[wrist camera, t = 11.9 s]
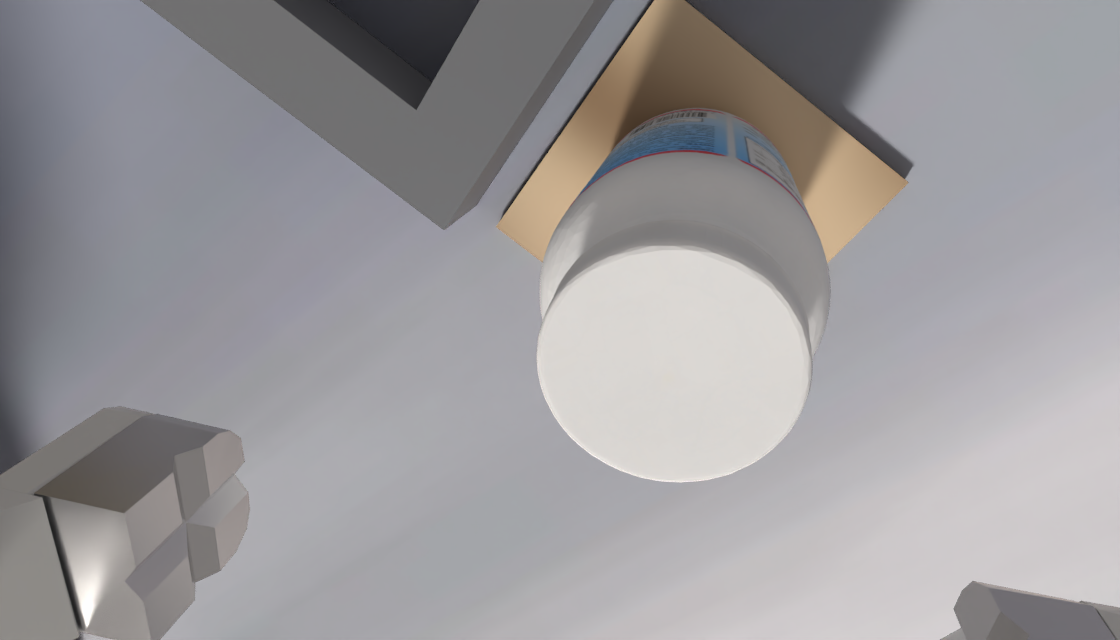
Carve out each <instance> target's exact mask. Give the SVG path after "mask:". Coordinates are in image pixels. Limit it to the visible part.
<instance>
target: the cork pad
mask: <svg viewBox="0 0 1120 640" xmlns="http://www.w3.org/2000/svg"><path fill="white" fill-rule="evenodd" d="M686 108H708V109H715V110H719V111H723V112H727V113H730V114H733V115H735V116H737V117H740V118H742V119H744V120H745V121H747V122H749V123H750V124H752V125H753V126H755V127H756V128H758V129H759V130H760V131H761V132H762V133H764V134H765V135H766V136H767V137H768V138H769V139H770V141H771V142H772V143H773V144H774V145H775V147H776V148H777V149H778V151H779V152H780V154H781V155H782V157H783V159H784V160H785V162H786V164H787V166H788V169H789V171H790V172H791V175H792V177H793V180H794V182H795V184H796V187H797V189H798V191H799V193H800V195H801V197H802V200H803V202H804V205H805V207H806V209H807V211H808V214H809V216H810V218H811V220H812V222H813V224H814V226H815V229H816V231H817V233H818V235H819V238H820V240H821V243H822V246H823V249H824V253H825V256H826V260H827V263H828V262H829V261H830V260H831V259H832V258H833V257H834V256H835V255H836V254H837V253H838V252H839V251H840V250H841V249H842V248H843V247H844V246H845V245H846V244H847V243H848V242H849V241H850V240H851V239H852V238H853V237H854V236H855V235H856V234H857V233H858V232H859V231H860V230H861V229H862V228H863V227H864V226H865V225H866V224H867V223H868V222H869V221H870V220H871V219H872V218H873V217H874V216H875V215H876V214H877V213H878V212H879V211H880V210H881V209H882V208H883V207H885V206H886V205H887V204H888V203H889V202H890V201H891V200H892V199H893V198H894V197H895V196H896V195H897V194H898V193H899V192H900V191H901V190H902V189H903V188H904V187H905V186H906V185H907V184H908V182H907V181H906V180H905V179H904V178H903V177H901V176H900V175H899V174H898V173H896V172H895V171H894V170H893V169H892V168H890V167H889V166H888V165H887V164H885V163H884V162H883V161H882V160H881V159H879V158H878V157H877V156H876V155H874V154H873V153H872V152H871V151H869V150H868V149H867V148H866V147H865V146H863V145H862V144H861V143H860V142H858V141H857V140H856V139H855V138H853V137H852V136H851V135H850V134H849V133H847V132H846V131H845V130H844V129H842V128H841V127H840V126H839V125H838V124H836V123H835V122H834V121H833V120H831V119H830V118H829V117H828V116H826V115H825V114H824V113H823V112H822V111H820V110H819V109H818V108H817V107H815V106H814V105H813V104H812V103H810V102H809V101H808V100H807V99H806V98H804V97H803V96H802V95H801V94H799V93H798V92H797V91H796V90H795V89H793V88H792V87H791V86H790V85H788V84H787V83H786V82H785V81H783V80H782V79H781V78H780V77H779V76H777V75H776V74H775V73H774V72H772V71H771V70H770V69H769V68H767V67H766V66H765V65H764V64H763V63H761V62H760V61H759V60H758V59H756V58H755V57H754V56H753V55H752V54H750V53H749V52H748V51H747V50H745V49H744V48H743V47H742V46H740V45H739V44H738V43H737V42H736V41H734V40H733V39H732V38H731V37H729V36H728V35H727V34H726V33H724V32H723V31H722V30H721V29H720V28H718V27H717V26H716V25H715V24H713V23H712V22H711V21H710V20H708V19H707V18H706V17H705V16H704V15H702V14H701V13H700V12H699V11H697V10H696V9H695V8H694V7H693V6H691V5H690V4H689V3H688V2H686V1H685V0H654V1H653V3H652V4H651V6H650V7H649V8H648V10H647V11H646V13H645V14H644V16H643V17H642V18H641V20H640V21H639V23H638V24H637V26H636V27H635V28H634V30H633V31H632V33H631V34H630V36H629V37H628V38H627V40H626V41H625V43H624V44H623V46H622V47H621V48H620V50H619V51H618V53H617V54H616V56H615V57H614V59H613V60H612V61H611V63H610V64H609V66H608V67H607V69H606V70H605V71H604V73H603V74H602V76H601V77H600V79H599V80H598V81H597V83H596V84H595V86H594V87H593V89H592V90H591V91H590V93H589V94H588V96H587V97H586V99H585V100H584V102H583V103H582V104H581V106H580V107H579V109H578V110H577V112H576V113H575V114H574V116H573V117H572V119H571V120H570V122H569V123H568V124H567V126H566V127H565V129H564V130H563V132H562V133H561V134H560V136H559V137H558V139H557V140H556V142H555V143H554V144H553V146H552V147H551V149H550V150H549V152H548V153H547V155H546V156H545V157H544V159H543V160H542V162H541V163H540V165H539V166H538V167H537V169H536V170H535V172H534V173H533V175H532V176H531V177H530V179H529V180H528V182H527V183H526V185H525V186H524V187H523V189H522V190H521V192H520V193H519V195H518V196H517V198H516V199H515V200H514V202H513V203H512V205H511V206H510V208H509V209H508V210H507V212H506V213H505V215H504V216H503V218H502V219H501V220H500V222H499V223H498V225H497V226H496V227H497V228H498V229H499V230H501V231H502V232H503V233H505V234H506V235H507V236H509V237H510V238H511V239H512V240H514V241H515V242H516V243H518V244H519V245H520V246H522V247H523V248H524V249H526V250H527V251H528V252H530V253H531V254H532V255H533V256H535V257H536V258H537V259H539V260H540V261H541V262H543V259H544V256H545V253H546V250H547V247H548V244H549V242H550V239H551V237H552V235H553V232H554V231H555V229H556V227H557V225H558V224H559V222H560V220H561V219H562V217H563V216H564V214H565V213H566V211H567V210H568V208H569V207H570V205H571V204H572V203H573V202H574V200H575V199H576V198H577V196H578V195H579V194H580V192H581V191H582V190H583V188H584V187H585V186H586V185H587V183H588V182H589V181H590V179H591V178H592V177H593V175H594V174H595V173H596V171H597V170H598V169H599V167H600V166H601V165H602V163H603V162H604V161H605V159H606V158H607V157H608V155H609V154H610V153H611V151H612V150H613V149H614V147H615V146H616V145H617V144H618V143H619V142H620V141H621V140H622V139H623V138H624V137H625V136H626V135H627V134H628V133H629V132H631V131H632V130H633V129H635V128H636V127H637V126H639V125H640V124H642V123H644V122H645V121H647V120H649V119H651V118H653V117H655V116H658V115H660V114H663V113H666V112H670V111H674V110H679V109H686Z"/></svg>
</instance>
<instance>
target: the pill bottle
mask: <svg viewBox="0 0 1120 640" xmlns="http://www.w3.org/2000/svg"><path fill="white" fill-rule="evenodd" d="M830 293H831V289H830V276H829V269H828V264H827V260H826V256H825V253H824V249H823V246H822V243H821V240H820V238H819V235H818V233H817V231H816V229H815V226H814V224H813V222H812V220H811V218H810V216H809V214H808V211H807V209H806V207H805V205H804V202H803V200H802V197H801V195H800V193H799V191H798V189H797V187H796V184H795V182H794V180H793V177H792V175H791V172H790V171H789V169H788V166H787V164H786V162H785V160H784V159H783V157H782V155H781V154H780V152H779V151H778V149H777V148H776V147H775V145H774V144H773V143H772V142H771V141H770V139H769V138H768V137H767V136H766V135H765V134H764V133H762V132H761V131H760V130H759V129H758V128H756V127H755V126H753V125H752V124H750V123H749V122H747V121H745V120H744V119H742V118H740V117H737V116H735V115H733V114H730V113H727V112H723V111H719V110H715V109H708V108H686V109H679V110H674V111H670V112H666V113H663V114H660V115H658V116H655V117H653V118H651V119H649V120H647V121H645V122H644V123H642V124H640V125H639V126H637V127H636V128H635V129H633V130H632V131H631V132H629V133H628V134H627V135H626V136H625V137H624V138H623V139H622V140H621V141H620V142H619V143H618V144H617V145H616V146H615V147H614V149H613V150H612V151H611V153H610V154H609V155H608V157H607V158H606V159H605V161H604V162H603V163H602V165H601V166H600V167H599V169H598V170H597V171H596V173H595V174H594V175H593V177H592V178H591V179H590V181H589V182H588V183H587V185H586V186H585V187H584V188H583V190H582V191H581V192H580V194H579V195H578V196H577V198H576V199H575V200H574V202H573V203H572V204H571V205H570V207H569V208H568V210H567V211H566V213H565V214H564V216H563V217H562V219H561V220H560V222H559V224H558V225H557V227H556V229H555V231H554V232H553V235H552V237H551V239H550V242H549V244H548V247H547V250H546V253H545V256H544V259H543V263H542V268H541V275H540V309H541V316H542V320H543V321H542V325H541V329H540V332H539V336H538V344H537V369H538V375H539V380H540V385H541V388H542V391H543V394H544V397H545V399H546V401H547V403H548V405H549V407H550V409H551V411H552V413H553V415H554V416H555V418H556V419H557V421H558V422H559V424H560V425H561V427H562V428H563V429H564V430H565V431H566V433H567V434H568V435H569V436H570V437H571V438H572V439H573V440H574V441H575V442H576V443H577V444H578V445H579V446H581V447H582V448H583V449H584V450H586V451H587V452H588V453H589V454H591V455H592V456H594V457H596V458H597V459H599V460H601V461H602V462H604V463H606V464H607V465H610V466H612V467H614V468H616V469H618V470H620V471H623V472H626V473H629V474H632V475H635V476H637V477H642V478H646V479H651V480H657V481H665V482H693V481H702V480H709V479H713V478H717V477H721V476H725V475H728V474H732V473H734V472H736V471H738V470H740V469H742V468H745V467H747V466H749V465H751V464H752V463H754V462H756V461H758V460H759V459H760V458H762V457H763V456H764V455H766V454H767V453H768V452H770V451H771V450H772V449H773V448H775V447H776V446H777V445H778V444H779V443H780V442H781V441H782V440H783V438H784V437H785V436H786V435H787V434H788V433H789V432H790V430H791V429H792V427H793V426H794V424H795V423H796V421H797V420H798V418H799V416H800V414H801V412H802V410H803V408H804V405H805V402H806V399H807V397H808V394H809V391H810V386H811V380H812V367H813V361H812V358H813V356H814V354H815V352H816V350H817V348H818V346H819V344H820V341H821V339H822V336H823V333H824V331H825V327H826V323H827V319H828V314H829V307H830Z"/></svg>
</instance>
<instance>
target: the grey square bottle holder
mask: <svg viewBox="0 0 1120 640" xmlns="http://www.w3.org/2000/svg"><path fill="white" fill-rule="evenodd" d="M140 1H142V2H143V3H144V4H146V5H147V6H148V7H150V8H151V9H152V10H154V11H155V12H156V13H158V14H159V15H160V16H162V17H163V18H164V19H166V20H167V21H168V22H170V23H171V24H172V25H173V26H175V27H176V28H177V29H179V30H180V31H181V32H183V33H184V34H185V35H187V36H188V37H189V38H191V39H192V40H193V41H195V42H196V43H197V44H199V45H200V46H201V47H203V48H204V49H205V50H207V51H208V52H209V53H210V54H212V55H213V56H214V57H216V58H217V59H218V60H220V61H221V62H222V63H224V64H225V65H226V66H228V67H229V68H230V69H232V70H233V71H234V72H236V73H237V74H238V75H240V76H241V77H242V78H244V79H245V80H246V81H247V82H249V83H250V84H251V85H253V86H254V87H255V88H257V89H258V90H259V91H261V92H262V93H263V94H265V95H266V96H267V97H269V98H270V99H271V100H273V101H274V102H275V103H277V104H278V105H279V106H281V107H282V108H283V109H284V110H286V111H287V112H288V113H290V114H291V115H292V116H294V117H295V118H296V119H298V120H299V121H300V122H302V123H303V124H304V125H306V126H307V127H308V128H310V129H311V130H312V131H314V132H315V133H316V134H318V135H319V136H320V137H321V138H323V139H324V140H325V141H327V142H328V143H329V144H331V145H332V146H333V147H335V148H336V149H337V150H339V151H340V152H341V153H343V154H344V155H345V156H347V157H348V158H349V159H351V160H352V161H353V162H355V163H356V164H357V165H358V166H360V167H361V168H362V169H364V170H365V171H366V172H368V173H369V174H370V175H372V176H373V177H374V178H376V179H377V180H378V181H380V182H381V183H382V184H384V185H385V186H386V187H388V188H389V189H390V190H392V191H393V192H394V193H395V194H397V195H398V196H399V197H401V198H402V199H403V200H405V201H406V202H407V203H409V204H410V205H411V206H413V207H414V208H415V209H417V210H418V211H419V212H421V213H422V214H423V215H425V216H426V217H427V218H429V219H430V220H431V221H432V222H434V223H435V224H436V225H438V226H439V227H440V228H442V229H443V230H445V229H446V228H448V227H449V226H450V225H452V224H453V223H454V222H455V221H457V220H458V219H459V218H461V217H462V216H463V215H465V214H466V213H467V212H469V211H470V210H471V209H472V208H474V207H475V206H476V205H477V204H478V202H479V201H480V199H481V198H482V196H483V195H484V193H485V192H486V190H487V189H488V187H489V186H490V184H491V183H492V181H493V180H494V178H495V177H496V175H497V174H498V172H499V171H500V169H501V168H502V166H503V165H504V163H505V162H506V160H507V159H508V157H509V156H510V154H511V153H512V151H513V150H514V148H515V147H516V145H517V144H518V142H519V141H520V139H521V138H522V136H523V135H524V133H525V132H526V130H527V129H528V127H529V126H530V124H531V123H532V121H533V120H534V118H535V117H536V115H537V114H538V112H539V111H540V109H541V108H542V106H543V105H544V103H545V102H546V100H547V99H548V97H549V96H550V94H551V93H552V91H553V90H554V88H555V87H556V85H557V84H558V82H559V81H560V79H561V78H562V76H563V75H564V73H565V72H566V70H567V69H568V67H569V66H570V65H571V63H572V62H573V60H574V59H575V57H576V56H577V54H578V53H579V51H580V50H581V48H582V47H583V45H584V44H585V42H586V41H587V39H588V38H589V36H590V35H591V33H592V32H593V30H594V29H595V27H596V26H597V24H598V23H599V21H600V20H601V18H602V17H603V15H604V14H605V12H606V11H607V9H608V8H609V6H610V5H611V3H612V2H613V0H479V2H478V4H477V6H476V7H475V9H474V11H473V12H472V14H471V16H470V18H469V19H468V21H467V23H466V25H465V26H464V28H463V30H462V32H461V33H460V35H459V37H458V39H457V40H456V42H455V44H454V46H453V47H452V49H451V51H450V53H449V54H448V56H447V58H446V60H445V61H444V63H443V65H442V66H441V68H440V70H439V72H438V73H437V75H436V77H435V79H434V80H433V82H431V81H430V80H428V79H427V78H426V77H425V76H423V75H422V74H421V73H419V72H418V71H417V70H416V69H414V68H413V67H412V66H410V65H409V64H408V63H407V62H405V61H404V60H403V59H401V58H400V57H399V56H398V55H396V54H395V53H394V52H392V51H391V50H390V49H389V48H387V47H386V46H385V45H383V44H382V43H381V42H379V41H378V40H377V39H376V38H374V37H373V36H372V35H370V34H369V33H368V32H367V31H365V30H364V29H363V28H361V27H360V26H359V25H358V24H356V23H355V22H354V21H352V20H351V19H350V18H349V17H347V16H346V15H345V14H343V13H342V12H341V11H340V10H338V9H337V8H336V7H334V6H333V5H332V4H330V3H329V2H328V1H327V0H140Z"/></svg>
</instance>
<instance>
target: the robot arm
mask: <svg viewBox="0 0 1120 640" xmlns="http://www.w3.org/2000/svg"><path fill="white" fill-rule="evenodd" d="M244 462H245V460H244V454H243V448H242V441H241V438H240V437H239V436H237V435H236V434H235V433H233V432H232V431H230V430H226V429H221V428H217V427H212V426H208V425H204V424H199V423H195V422H190V421H186V420H182V419H177V418H173V417H168V416H164V415H160V414H152V413H148V412H144V411H139V410H135V409H130V408H126V407H121V406H119V407H111V408H103V409H102V410H100V411H99V412H97V413H96V414H94V415H93V416H91V417H89V418H88V419H86V420H85V421H83V422H82V423H80V424H79V425H77V426H75V427H74V428H72V429H71V430H69V431H68V432H66V433H65V434H63V435H61V436H60V437H58V438H57V439H55V440H54V441H52V442H51V443H49V444H47V445H46V446H44V447H43V448H41V449H40V450H38V451H37V452H35V453H33V454H32V455H30V456H29V457H27V458H26V459H24V460H23V461H21V462H19V463H18V464H16V465H15V466H13V467H12V468H10V469H9V470H7V471H5V472H4V473H2V474H1V475H0V640H75V639H76V638H78V637H79V636H80V634H79V632H82V633H86V634H91V635H96V636H100V637H105V638H109V639H114V640H160V639H161V638H162V637H163V636H164V635H165V634H166V632H167V631H168V630H169V629H170V628H171V627H172V626H173V624H174V623H175V622H176V621H177V620H178V619H179V618H180V617H181V615H182V614H183V613H184V612H185V611H186V610H187V609H188V607H189V606H190V605H191V604H192V603H193V602H194V601H195V582H197V581H200V580H202V579H204V578H206V577H208V576H210V575H213V574H215V573H217V572H219V571H221V570H222V568H223V567H224V566H225V565H226V564H227V562H228V561H229V560H230V559H231V558H232V556H233V555H234V554H235V553H236V551H237V549H238V547H239V545H240V543H241V540H242V538H243V536H244V534H245V532H246V530H247V525H248V519H249V512H250V504H249V494H248V491H247V490H246V488H245V487H244V486H243V484H242V483H241V482H240V480H239V479H238V478H237V477H236V475H235V473H236V472H237V471H238V469H239V468H240V467H241V466H242V464H243V463H244ZM954 611H955V614H956V616H957V618H958V621H959V623H960V626H961V628H960V629H958V630H957V631H955V632H953V633H951V634H949V635H947V636H946V637H944V638H942V639H940V640H1120V608H1118V607H1113V606H1107V605H1102V604H1096V603H1091V602H1085V601H1080V602H1076V601H1072V600H1067V599H1062V598H1057V597H1052V596H1047V595H1042V594H1037V593H1032V592H1027V591H1022V590H1016V589H1011V588H1006V587H1001V586H996V585H991V584H986V583H981V582H976V581H972V582H971V583H970V584H969V585H968V586H967V587H966V588H964V589H963V590H962V592H961V594H960V596H959V598H958V600H957V602H956V605H955V607H954Z"/></svg>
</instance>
